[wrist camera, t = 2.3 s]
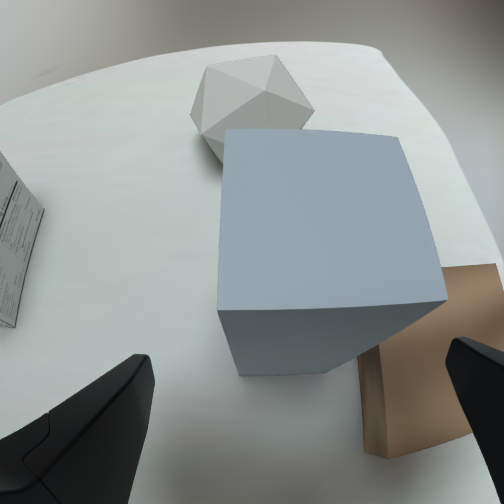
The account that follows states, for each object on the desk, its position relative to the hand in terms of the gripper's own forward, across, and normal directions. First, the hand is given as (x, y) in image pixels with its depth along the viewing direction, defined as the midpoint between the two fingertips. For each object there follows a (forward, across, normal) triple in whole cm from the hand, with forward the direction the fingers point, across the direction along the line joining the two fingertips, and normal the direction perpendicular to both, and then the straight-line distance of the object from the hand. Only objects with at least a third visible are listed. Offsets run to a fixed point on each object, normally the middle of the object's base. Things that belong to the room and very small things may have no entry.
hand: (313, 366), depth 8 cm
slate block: (+10, 0, +5) cm, 11 cm away
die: (+20, +2, -6) cm, 21 cm away
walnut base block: (+8, -10, +7) cm, 14 cm away
